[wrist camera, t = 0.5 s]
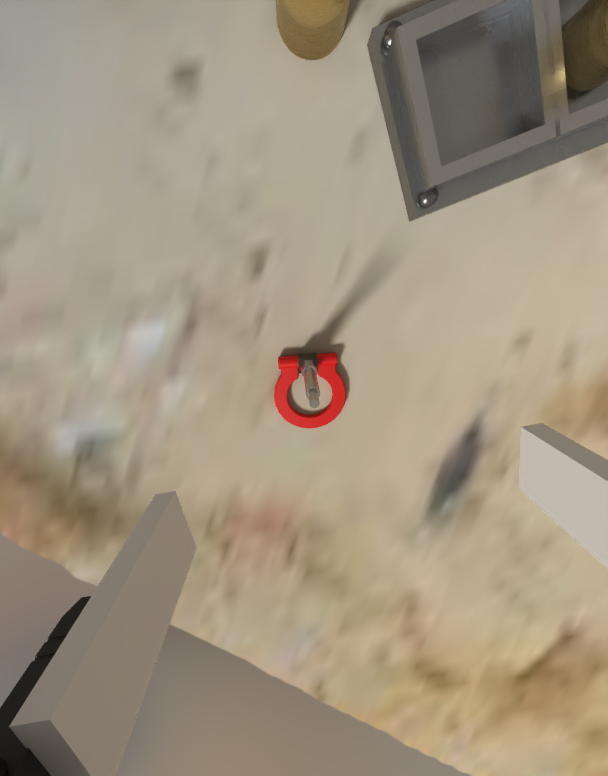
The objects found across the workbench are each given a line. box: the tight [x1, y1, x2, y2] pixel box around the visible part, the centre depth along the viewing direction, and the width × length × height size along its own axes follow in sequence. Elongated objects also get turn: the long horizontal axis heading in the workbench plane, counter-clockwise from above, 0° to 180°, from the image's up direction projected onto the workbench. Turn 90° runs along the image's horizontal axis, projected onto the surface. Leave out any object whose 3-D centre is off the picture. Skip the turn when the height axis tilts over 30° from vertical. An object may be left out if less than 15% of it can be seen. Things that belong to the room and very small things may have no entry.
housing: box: [367, 0, 608, 221], centre depth 24 cm, size 15×24×12 cm, turn 110°
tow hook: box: [274, 353, 346, 428], centre depth 32 cm, size 8×13×9 cm
